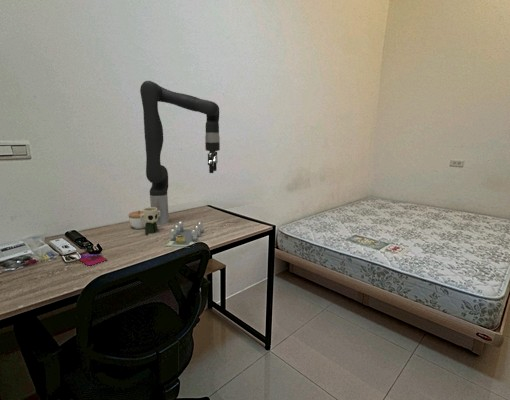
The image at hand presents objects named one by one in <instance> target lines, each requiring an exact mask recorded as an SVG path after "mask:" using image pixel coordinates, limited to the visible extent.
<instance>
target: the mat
mask: <svg viewBox="0 0 510 400" xmlns="http://www.w3.org/2000/svg"><path fill="white" fill-rule="evenodd" d="M183 229H184V232H182V233H180V235H185V243H184V244H176V241H171V240H170V241H169V242H168V243H167V244H166V245H165V247H168V248H186V247H185V246H188V245H191V244H193V243H196V242H192V241H191V230H192V229H186V228H183ZM204 231H205V230H204V229H203V232H204ZM202 234H203V233H200V236H201V235H202ZM199 238H200V237H197V240H199Z"/></svg>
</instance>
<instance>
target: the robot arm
mask: <svg viewBox="0 0 510 400" xmlns="http://www.w3.org/2000/svg"><path fill="white" fill-rule="evenodd" d="M139 92H140V99H141V103H142V109H143V110H142V111H143V130H144V131H143V132H144V141H145V157H146V161H145V176H146V179H147V180H148V182H150V183H151V187H150V189H149V203H150V207H155V208H157V210H158V211H160V217H158V220H157V221H156V223H157V226H163V225H167V224H170V217H169V200H168V190H169V173H168V172H169V171H168V169H167V167H166V166H164V165H162V163H161V153H162V149H163V145H164V129H163V124H162V120H161V117H160V113H159V105H158V103H166V104H170V105H174V106H177V107H179V108H182V109H184V110H185V109H186V110H188V111H192V112H198V113H201V114H203V115H206V116H205V117H206V122H205V134H204V135H205V136H204V137H205V138H204V139H205V140H204V142H205V143H204V144H205V147H204V149H205V151H207V152H209V153H207V165H208V167H209V168H208V172H209V174H214V173H215V172H217V168H218V167H217V164H218V151H221V149H220V148H221V147H220V146H221V145H220V144H221V142H220V140H221V139H220V138H221V136H220V125H219V124H220V123H219V121H220V120H219V119H220V107H219V105H218V104H217V103H216V102H215V101H212V100H211V101H210V100H208V99H203V98H199V97H197V96H193V95H190V94H186V93H181V92H176V91H172V90H170V89H167V88H165V87H163V86H160V85H159V84H158V83H156V82H154V81H152V80H145V81H143V82H142V84H141V85H140V89H139Z"/></svg>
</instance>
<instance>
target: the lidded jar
mask: <svg viewBox="0 0 510 400" xmlns="http://www.w3.org/2000/svg"><path fill="white" fill-rule="evenodd" d="M141 214H143V210H137V211H133V212H129V213H128V220H129V224H130V225H131V227H133V229H135V230H141V229H142V230H143V229H145V225H146V222H144V220H142V221H141V220H140V215H141ZM142 218H143V216H142Z"/></svg>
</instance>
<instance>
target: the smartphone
mask: <svg viewBox="0 0 510 400" xmlns="http://www.w3.org/2000/svg"><path fill="white" fill-rule="evenodd" d="M87 251H88V250H87ZM87 251H84V252H80V253H78V254H80V255H81V258H80V259H79V261H78V262H80V263H81V262H82V264H83V263H84V264H85V266H86V265H87V266H86V267H88V266H90V267H93V266H96V265H99V264H102V263H105V262H107V261H108V259H107V257H104V256H102V255H101V254H99V253H97V254H89V253H88V252H87ZM104 261H105V262H104ZM101 262H102V263H101ZM98 263H99V264H98ZM84 264H83V265H84ZM95 264H96V265H95ZM92 265H93V266H92Z"/></svg>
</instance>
